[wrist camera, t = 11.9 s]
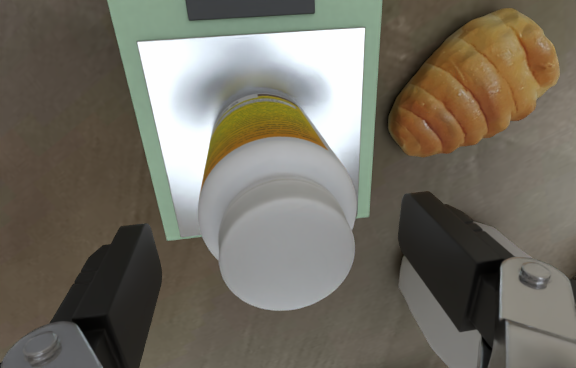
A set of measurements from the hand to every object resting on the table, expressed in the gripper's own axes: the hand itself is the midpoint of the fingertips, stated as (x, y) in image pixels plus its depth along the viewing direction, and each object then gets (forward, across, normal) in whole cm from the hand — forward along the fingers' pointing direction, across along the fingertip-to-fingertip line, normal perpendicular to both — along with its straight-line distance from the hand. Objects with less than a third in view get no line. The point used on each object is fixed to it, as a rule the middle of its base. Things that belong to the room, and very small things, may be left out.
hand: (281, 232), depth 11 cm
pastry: (+12, -13, -1) cm, 18 cm away
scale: (+12, 0, -1) cm, 12 cm away
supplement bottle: (+9, 0, 0) cm, 9 cm away
